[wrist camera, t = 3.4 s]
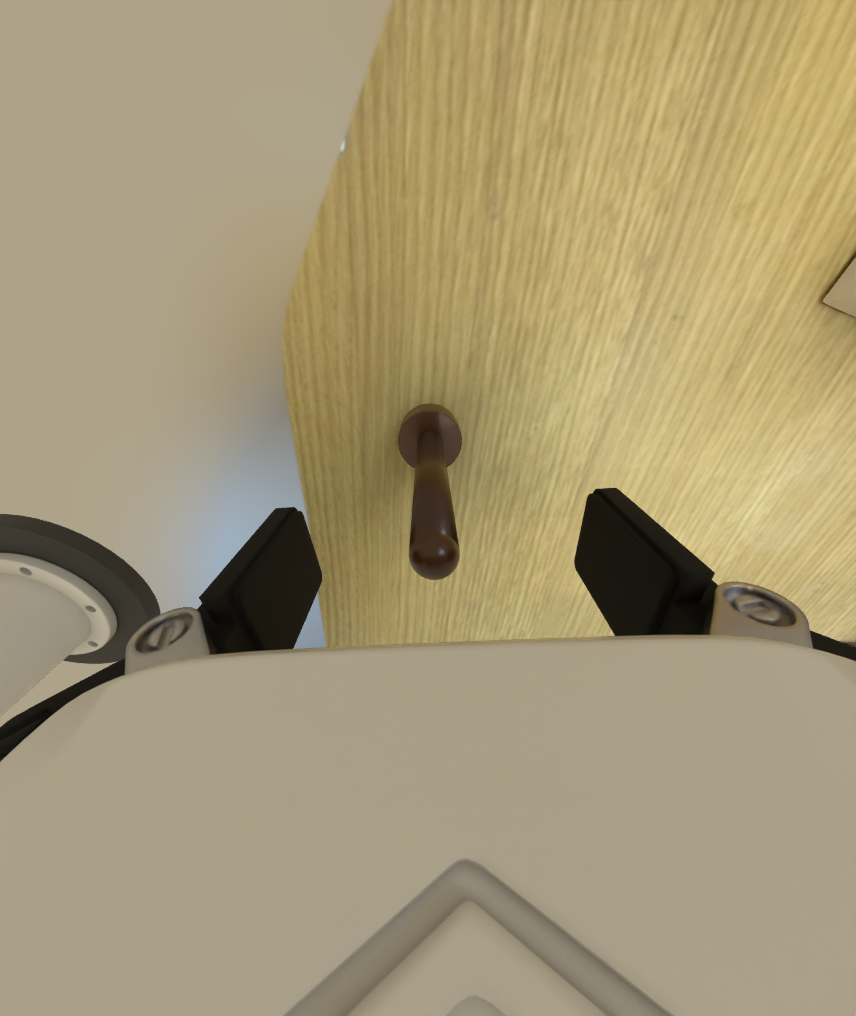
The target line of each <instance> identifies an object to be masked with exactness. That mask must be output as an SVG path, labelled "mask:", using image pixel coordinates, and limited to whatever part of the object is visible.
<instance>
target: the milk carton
mask: <svg viewBox="0 0 856 1016" xmlns="http://www.w3.org/2000/svg"><path fill="white" fill-rule="evenodd" d="M823 303H825V304H827V305H829V306H831V307H833V308H836V309H838V310H840V311H842V312H845V313H847V314H849V315H852V316H854V317H856V257H855V258H854V260H853V261H852V262H851V264H850V265H849V266H848V268H847V269H846V270H845V272H844V273H843V274H842V276H841V277H840V278H839V279H838V281H837V282H836V283H835V285H834V286H833V287H832V289H831V290H830V291H829V293H828V294H827V295H826V297H825V298H824V299H823Z"/></svg>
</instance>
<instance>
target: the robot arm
mask: <svg viewBox="0 0 856 1016" xmlns="http://www.w3.org/2000/svg"><path fill="white" fill-rule="evenodd" d="M574 562H575V568H576V571H577V572H578V574H579V576H580V577H581V579H582V581H583V582H584V584H585V586H586V587H587V589H588V591H589V593H590V594H591V596H592V598H593V599H594V601H595V603H596V604H597V606H598V608H599V609H600V611H601V613H602V614H603V616H604V618H605V619H606V621H607V623H608V624H609V626H610V628H611V629H612V631H613V633H614V634H615V636H601V637H572V638H543V639H514V640H489V641H463V642H439V643H414V644H390V645H369V646H347V647H325V648H304V649H293V648H294V645H295V643H296V641H297V638H298V636H299V634H300V631H301V629H302V626H303V624H304V622H305V620H306V618H307V615H308V613H309V611H310V608H311V606H312V604H313V601H314V599H315V596H316V594H317V592H318V590H319V587H320V585H321V582H322V572H321V569H320V566H319V562H318V559H317V556H316V553H315V550H314V547H313V544H312V540H311V537H310V534H309V531H308V528H307V525H306V522H305V519H304V515H303V513H302V512H301V511H297V509H296V508H294V507H291V508H290V507H289V508H276V509H275V510H274V511H273V512H272V513H271V514H270V515H269V517H268V518H267V519H266V520H265V521H264V522H263V524H262V525H261V526H260V527H259V529H258V530H257V531H256V532H255V533H254V534H253V535H252V536H251V538H250V539H249V540H248V541H247V542H246V543H245V545H244V546H243V547H242V548H241V549H240V550H239V552H238V553H237V554H236V555H235V556H234V558H233V559H232V560H231V561H230V562H229V563H228V565H227V566H226V567H225V568H224V569H223V571H222V572H221V573H220V574H219V575H218V576H217V578H216V579H215V580H214V581H213V582H212V583H211V584H210V586H209V587H208V588H207V589H206V590H205V591H204V593H203V594H202V595H201V596H200V597H199V599H200V600H201V602H202V604H201V606H200V607H199V608H198V609H194V608H192V607H190V608H189V607H183V608H178V609H174V610H171V611H168V612H166V613H163V614H161V615H159V616H157V617H155V618H153V619H152V620H150V621H149V622H148V623H146V624H145V625H143V626H142V627H141V628H140V629H139V630H138V631H137V632H136V633H135V634H134V635H133V636H132V637H131V639H130V640H129V642H128V644H127V647H126V656H125V658H124V659H122V660H120V661H118V662H116V663H114V664H112V665H110V666H109V667H107V668H105V669H103V670H101V671H99V672H97V673H96V674H93V675H92V676H90V677H88V678H86V679H84V680H82V681H80V682H78V683H76V684H74V685H73V686H71V687H69V688H67V689H65V690H63V691H61V692H59V693H58V694H56V695H54V696H52V697H50V698H48V699H46V700H44V701H42V702H41V703H39V704H37V705H35V706H33V707H31V708H29V709H28V710H26V711H25V712H22V713H20V714H19V715H17V716H15V717H13V718H12V719H10V720H9V721H8V722H6V723H5V724H4V725H3V726H2V727H0V1016H856V648H855V647H852V646H850V645H847V644H844V643H842V642H839V641H836V640H834V639H831V638H829V637H826V636H823V635H821V634H818V633H815V632H813V631H810V629H809V623H808V620H807V618H806V616H805V614H804V613H803V612H802V611H801V610H800V609H799V608H798V607H797V606H796V605H795V604H793V603H792V602H791V601H789V600H788V599H786V598H785V597H783V596H781V595H779V594H777V593H775V592H773V591H771V590H768V589H765V588H763V587H760V586H757V585H753V584H749V583H743V582H725V583H722V584H720V585H717V584H716V583H715V582H714V581H713V580H712V578H713V576H714V574H715V573H714V572H713V571H712V570H711V569H710V568H709V567H707V566H706V565H705V564H704V563H703V562H702V561H700V560H699V559H698V558H697V557H696V556H695V555H694V554H692V553H691V552H690V551H689V550H688V549H687V548H685V547H684V546H683V545H682V544H681V543H680V542H679V541H677V540H676V539H675V538H674V537H673V536H672V535H670V534H669V533H668V532H667V531H666V530H665V529H664V528H662V527H661V526H660V525H659V524H658V523H657V522H655V521H654V520H653V519H652V518H651V517H650V516H649V515H647V514H646V513H645V512H644V511H643V510H642V509H640V508H639V507H638V506H637V505H636V504H635V503H634V502H632V501H631V500H630V499H629V498H628V497H627V496H625V495H624V494H623V493H622V492H621V491H620V490H618V489H617V488H604V489H596V490H594V492H593V494H589V495H588V497H587V501H586V506H585V511H584V516H583V521H582V526H581V531H580V536H579V540H578V545H577V550H576V555H575V561H574ZM116 630H117V619H116V615H115V612H114V610H113V608H112V606H111V605H110V604H109V602H108V601H107V600H106V598H105V597H104V596H103V595H102V594H101V593H100V592H99V591H98V590H97V589H95V588H94V587H93V586H92V585H90V584H89V583H88V582H86V581H85V580H83V579H82V578H80V577H79V576H77V575H75V574H74V573H72V572H70V571H68V570H66V569H64V568H62V567H60V566H58V565H55V564H52V563H50V562H47V561H44V560H42V559H38V558H34V557H30V556H27V555H21V554H14V553H0V717H2V716H3V715H4V714H5V713H6V712H7V711H8V710H9V709H10V708H11V707H12V706H13V705H15V704H16V703H17V702H18V701H19V700H20V699H21V698H22V697H23V696H24V695H26V694H27V693H28V692H29V691H30V690H31V689H32V688H33V687H34V686H35V685H36V684H38V683H39V682H40V681H41V680H42V679H43V678H44V677H45V676H46V675H48V674H49V673H50V672H51V671H52V670H53V669H54V668H55V667H56V666H57V665H58V664H60V662H62V661H63V660H64V659H65V658H66V657H67V656H68V655H77V654H85V653H89V652H93V651H96V650H98V649H99V648H101V647H103V646H104V645H105V644H106V643H107V642H108V641H109V640H110V639H111V638H112V637H113V636H114V634H115V633H116Z"/></svg>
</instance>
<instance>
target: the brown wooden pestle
mask: <svg viewBox="0 0 856 1016" xmlns="http://www.w3.org/2000/svg"><path fill="white" fill-rule="evenodd" d="M398 445H399V450H400V453H401V455H402V457H403V458H404V460H405V461H406V462H407V463H408V464H409V465H410V466H412V467H413V468H415V480H414V493H413V507H412V520H411V534H410V548H409V559H410V563H411V565H412V567H413V569H414V570H415V571H416V572H417V573H418V574H419V575H420V576H422V577H424V578H427V579H430V580H439V579H443V578H445V577H447V576H449V575H450V574H451V573H452V572H453V571H454V570H455V568H456V567H457V565H458V562H459V557H460V551H459V544H458V538H457V531H456V525H455V518H454V512H453V505H452V499H451V492H450V486H449V479H448V473H447V467H448V466H449V465H451V464H452V463H453V462H454V461H455V459H456V458H457V456H458V455H459V452H460V449H461V445H462V437H461V432H460V429H459V426H458V423H457V421H456V419H455V417H454V416H453V414H452V413H451V412H450V411H449V410H447V409H446V408H444V407H442V406H440V405H436V404H423V405H420V406H417V407H415V408H414V409H412V410H411V411H410V412H409V413H408V414H407V415H406V416H405V418H404V420H403V422H402V425H401V428H400V432H399V437H398Z"/></svg>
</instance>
